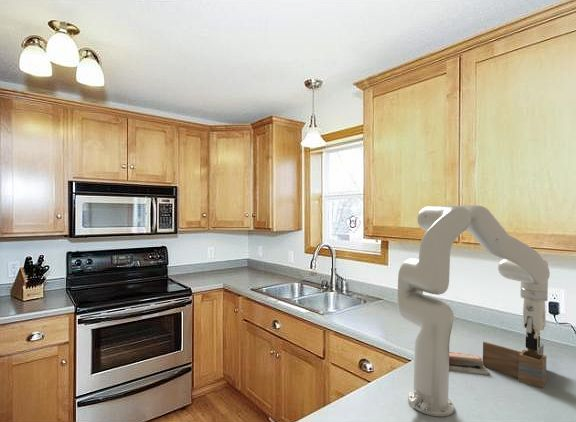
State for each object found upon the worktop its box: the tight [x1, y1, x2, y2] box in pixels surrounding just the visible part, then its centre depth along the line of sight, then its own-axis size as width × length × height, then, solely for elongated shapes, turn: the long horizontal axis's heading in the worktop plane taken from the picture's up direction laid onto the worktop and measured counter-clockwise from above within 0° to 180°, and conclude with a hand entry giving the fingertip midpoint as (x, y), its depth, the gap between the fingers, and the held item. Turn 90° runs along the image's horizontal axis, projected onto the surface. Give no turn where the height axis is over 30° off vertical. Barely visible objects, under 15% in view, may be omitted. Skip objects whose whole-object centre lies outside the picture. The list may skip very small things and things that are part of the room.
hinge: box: [482, 341, 548, 389], centre depth 124 cm, size 19×19×9 cm
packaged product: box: [449, 351, 490, 375], centre depth 126 cm, size 18×5×10 cm
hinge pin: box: [525, 323, 545, 354], centre depth 115 cm, size 6×6×10 cm
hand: (532, 347), depth 115 cm, fingers closed on hinge pin, 3 cm apart
